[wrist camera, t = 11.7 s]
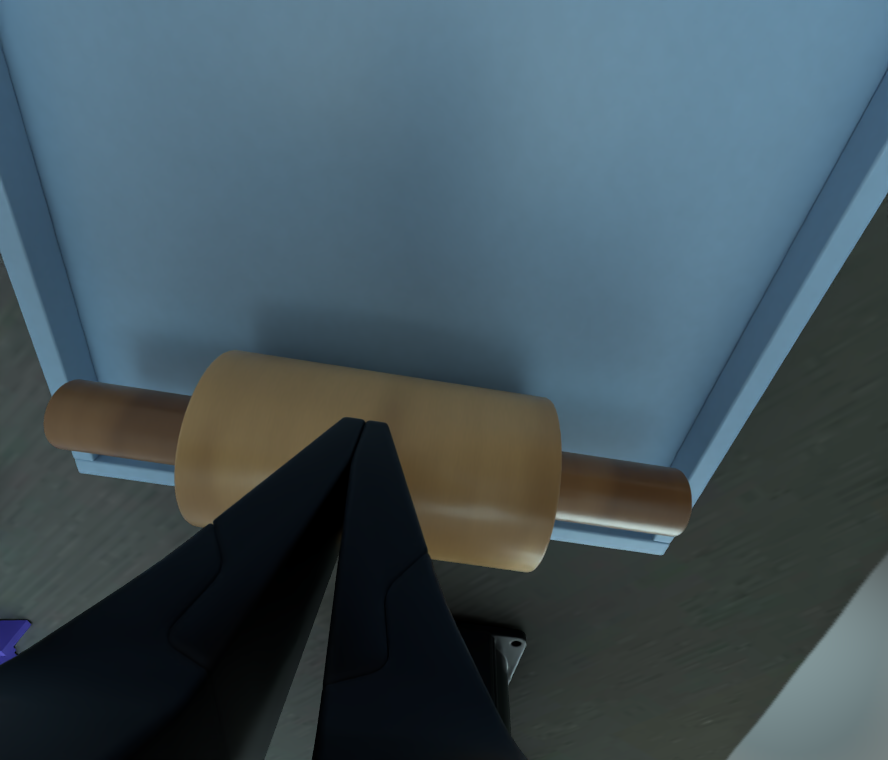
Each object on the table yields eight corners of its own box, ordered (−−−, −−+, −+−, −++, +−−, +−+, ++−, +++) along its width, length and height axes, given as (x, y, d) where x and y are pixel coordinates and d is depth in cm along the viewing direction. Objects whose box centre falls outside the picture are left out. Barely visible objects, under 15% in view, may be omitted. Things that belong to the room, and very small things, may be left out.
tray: (649, 522, 19) (663, 556, 18) (107, 444, 18) (78, 473, 17) (1034, -160, 9) (1135, -202, 8) (-148, -408, 8) (-273, -505, 7)
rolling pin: (621, 498, 18) (669, 630, 13) (140, 428, 17) (29, 543, 13) (677, 386, 15) (759, 507, 11) (108, 297, 14) (-46, 389, 10)
